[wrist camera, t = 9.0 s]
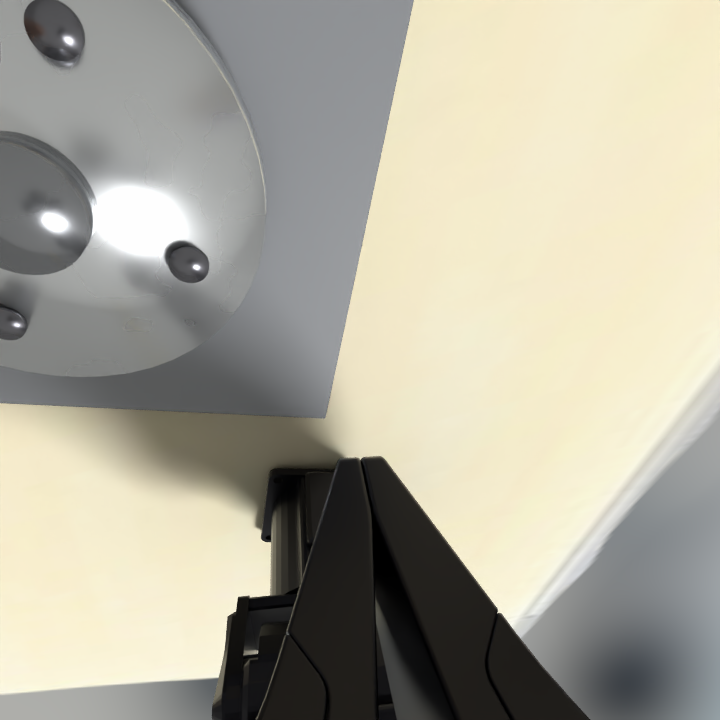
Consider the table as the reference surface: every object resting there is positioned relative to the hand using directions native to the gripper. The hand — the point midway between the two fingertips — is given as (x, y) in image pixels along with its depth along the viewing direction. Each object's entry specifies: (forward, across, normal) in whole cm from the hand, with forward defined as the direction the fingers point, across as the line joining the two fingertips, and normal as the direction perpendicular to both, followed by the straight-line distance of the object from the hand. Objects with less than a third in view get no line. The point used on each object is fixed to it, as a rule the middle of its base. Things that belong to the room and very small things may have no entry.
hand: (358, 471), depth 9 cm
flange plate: (+10, +10, -3) cm, 15 cm away
